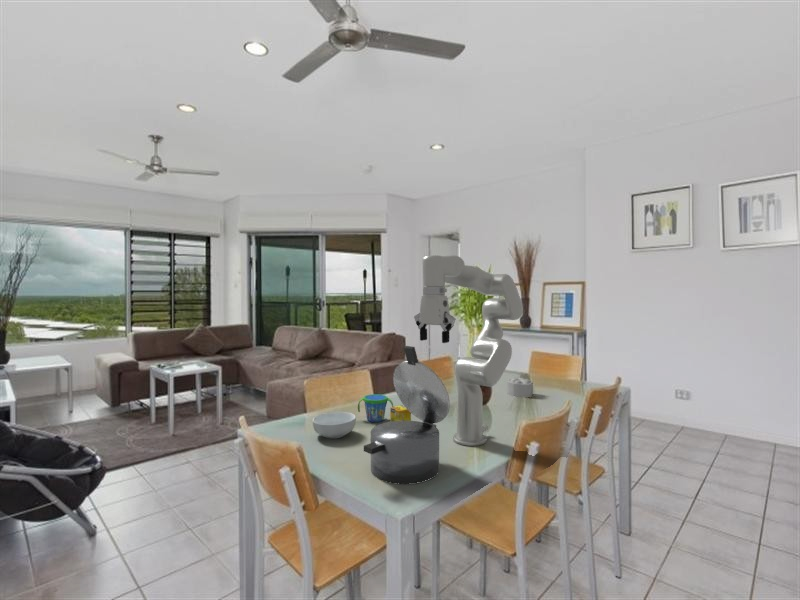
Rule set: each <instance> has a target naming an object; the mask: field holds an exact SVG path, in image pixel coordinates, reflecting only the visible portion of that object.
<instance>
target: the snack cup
mask: <svg viewBox="0 0 800 600" xmlns="http://www.w3.org/2000/svg"><path fill="white" fill-rule="evenodd" d="M361 401H363V402H364V408H365V415H366V420H367V421H369V423H371V422H372V423H377V422H378V423H380V422H382V421H384V420H385V415H386V407H387V405H388V401H389V403H390V404H391V407H394V403H393V401H392V399H391V398H389V397H388V396H387V395H386V394H379V393H378V394H377V393H376V394H367V395H364V396H363V397H362V398H361V399H359V401H358V403H357V412H358V413H360V412H361V409H360V408H361V406H360V403H361Z"/></svg>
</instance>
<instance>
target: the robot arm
mask: <svg viewBox="0 0 800 600" xmlns="http://www.w3.org/2000/svg"><path fill="white" fill-rule="evenodd" d="M445 283H446V284H450V285H455V286H458V287H462V288H466V289H469V290H472V291H474V292H477V293H479V294H481V295H484V296H491V297H493V296H498V297H503V298H498V297H497V298H495V297H494V298H488V299H486V300H484V302H483V303H482V307H481V312H482V313H481V314H482V320H483V325H482V328H481V330H480V332H479V333H478V335H477V337H476V338H475V340H474V341H473V343H472V345H471V347H470V356H465V357H464V356H463V357H461V358H459V359H457V361H455V364H454V376H455V382H456V394H457V395H456V398H457V399H456V405H457V406H456V433H454V434H453V435H452V440H453V442H455V443H456V444H459V445H463V446H468V447H477V446H482V445H484V444H486V443H487V436H486V435H484V432H485V431H487V430H488V429H489V428H488V426H487V424H484V425H483V391H482V388H481V386H483V387H489V388H491V387H493V386H495V385H497V383H499V381H500V380H501V378H502V376H503V374H504V372H505V370H506V369H507V367H508V365H509V363H510V362H511V358H512V356H513V355H512V354H513V347H512V345H511V343H510V342H509V341H508V340H506V339H504V338H503V336H504V330H503V328H502V325H501V324H500V321H499V320H503V321H504V320H506V321H516V320H519V319H520V318H521V317H522V316H523V313H524V306H523V302H522V299H521V295H520V294H519V291H518V288H517V286H516V283H515V281H514V279H513V278H512V277H511V276H510V275H509V274H508V273H495V274H493V273H489V272H488V271H485V270H483V269H481V268H479V267H477V266H473V265H467V264H466V263H465V261H464V260H463V258H462V257H460V256H458V255H432V254H431V255H426V256H424V257H423V258H422V296H421V298H420V307H419V312H418V314H416V315H414V316H413V318H414V321H415V324H416V326H417V328H418V330H419V341H427V340H428V328H427V326H428V325H429V326H430V325H431V326H440V327H441V329H442V331H441V343H442V344H447V343H449V342H450V331H451V330H452V328H453V327H454V324H455V322H456V317H454V316H453V315H452V314H450V312H451V311H450V304H449V299H448V296H447V295H446V293H447V292H448V289H447V288H446V284H445Z"/></svg>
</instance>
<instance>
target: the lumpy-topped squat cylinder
mask: <svg viewBox="0 0 800 600" xmlns="http://www.w3.org/2000/svg"><path fill="white" fill-rule="evenodd" d="M506 387H507V388H506V389H507V390H506V391H507V395H508V396H511V397H514V396H515V397H514V398H522V397H527V398H528V397H530V398H532V396H534V381H531V380H530V379H527V378H525V377H520V378H518V377H513V378H512V379H508V380H507V386H506ZM527 398H526V399H527ZM528 399H529V398H528Z"/></svg>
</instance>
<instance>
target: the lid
mask: <svg viewBox="0 0 800 600" xmlns="http://www.w3.org/2000/svg"><path fill="white" fill-rule="evenodd" d="M403 350H404V355H405V358H406V359H405V360H404V361H402V362H401V363H399V364H398V365H397V366H396V367H395V368H394V371H393V374H392V375H393V376H392V379H393V380H392V381H393V386H394V390H395V393H396V394H397V398H399V400H400V402H401V403H402V405H403V406H405V407H406V408H407V409H408V410H409V411H410V412H411V415H413V416H414V417H415V418H417V419H419V421H420V420H421V422H426V423H429V424H437V423H440V422H442V421H443V420H445V418H447V416H448V415H449V412H450V410H451V409H450V408H451V403H450V402H451V401H450V396H449V393H448V390H447V388H446V386H445V384H444V383H443V381H442V379H441V378H440V377H439V376H438V374H437V373H436V372H435V371H434V370H432V369H431V368H430V367H429V366H428V365H426V364H424V363H422V362H420V361H419V359H418V355H417V350H416V348H415V346H409V345H406V346H404V347H403Z"/></svg>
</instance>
